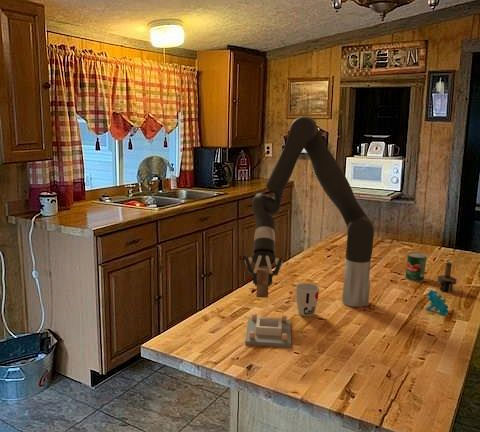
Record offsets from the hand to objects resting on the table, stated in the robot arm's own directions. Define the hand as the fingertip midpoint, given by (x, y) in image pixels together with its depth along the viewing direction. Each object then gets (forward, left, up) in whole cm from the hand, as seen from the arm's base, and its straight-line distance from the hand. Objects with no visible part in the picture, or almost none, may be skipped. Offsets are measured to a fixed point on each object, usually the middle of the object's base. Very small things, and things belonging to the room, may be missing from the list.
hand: (262, 284), depth 171 cm
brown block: (0, -2, -5) cm, 5 cm away
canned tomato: (-66, -51, -12) cm, 84 cm away
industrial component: (-75, -38, -12) cm, 85 cm away
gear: (-64, -13, -12) cm, 67 cm away
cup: (-16, -5, -12) cm, 20 cm away
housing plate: (-3, +13, -12) cm, 18 cm away
